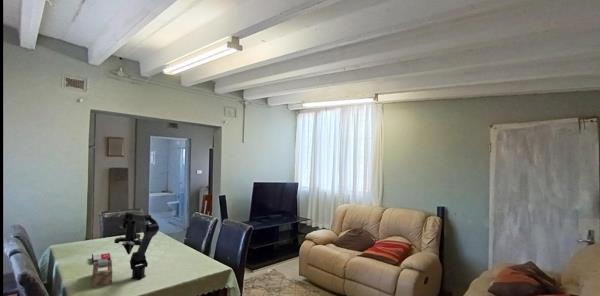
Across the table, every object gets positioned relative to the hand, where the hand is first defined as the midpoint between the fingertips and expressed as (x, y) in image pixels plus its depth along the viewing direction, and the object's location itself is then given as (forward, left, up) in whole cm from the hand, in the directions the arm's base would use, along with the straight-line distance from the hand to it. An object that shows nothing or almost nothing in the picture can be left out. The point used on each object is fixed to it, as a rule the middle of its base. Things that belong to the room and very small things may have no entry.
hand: (128, 254), depth 217 cm
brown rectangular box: (+7, +15, -12) cm, 20 cm away
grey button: (+10, +10, -5) cm, 16 cm away
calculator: (+33, -16, -13) cm, 39 cm away
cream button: (+3, +19, -7) cm, 20 cm away
